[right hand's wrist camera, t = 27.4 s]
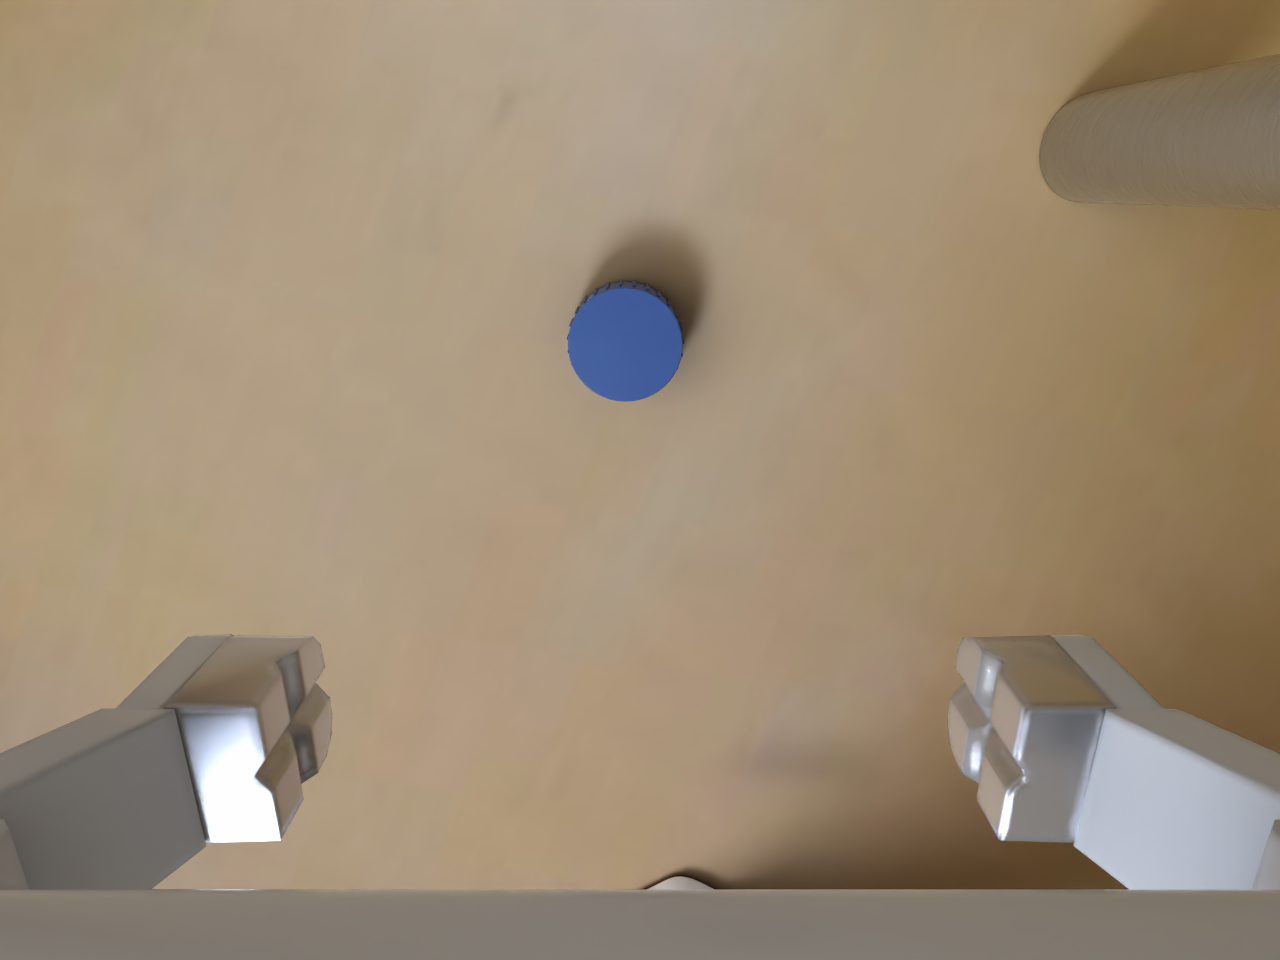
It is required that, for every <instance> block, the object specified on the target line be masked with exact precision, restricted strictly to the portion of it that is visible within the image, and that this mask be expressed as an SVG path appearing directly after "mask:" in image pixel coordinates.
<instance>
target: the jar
mask: <svg viewBox="0 0 1280 960" xmlns="http://www.w3.org/2000/svg"><path fill="white" fill-rule="evenodd" d="M1040 167H1041V171H1042V174H1043V177H1044V179H1045V181H1046V183H1047V184H1048V186H1049V187H1050V188H1051V189H1052V190H1053V191H1054V192H1055V193H1056V194H1057V195H1059V196H1061V197H1062V198H1064V199H1067V200H1070V201H1074V202H1088V203H1114V204H1139V205H1164V206H1189V207H1215V208H1240V209H1265V210H1280V54H1277V55H1272V56H1267V57H1262V58H1257V59H1252V60H1247V61H1242V62H1237V63H1233V64H1228V65H1223V66H1218V67H1213V68H1208V69H1203V70H1198V71H1194V72H1189V73H1184V74H1179V75H1174V76H1169V77H1164V78H1159V79H1154V80H1150V81H1145V82H1140V83H1135V84H1130V85H1125V86H1120V87H1115V88H1111V89H1106V90H1101V91H1096V92H1091V93H1087V94H1084V95H1081V96H1079V97H1077V98H1075V99H1073V100H1072V101H1070V102H1069V103H1067V104H1066V105H1065V106H1064V107H1063V108H1061V110H1060V111H1059V112H1058V113H1057V114H1056V115H1055V116H1054V118H1053V119H1052V120H1051V122H1050V123H1049V125H1048V127H1047V129H1046V131H1045V133H1044V136H1043V139H1042V142H1041V147H1040Z"/></svg>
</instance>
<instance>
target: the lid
mask: <svg viewBox="0 0 1280 960" xmlns="http://www.w3.org/2000/svg"><path fill="white" fill-rule="evenodd" d="M575 314H576V316H575V318H573V319H572V321H571V323H570V325H569V326H570V327H571V328H570V332H569V335H568V337H567V340H568V353H569V356H570V360H571V364H572V366H573V368H574V370H575V372H576V374H577V375H578V377H579V378H580V380H581V381H582V382H583V383H584V384H585V385H586V386H587V387H588V388H589V389H591V390H592V391H593V392H595V393H596V394H598V395H600V396H602V397H605V398H608V399H611V400H616V401H635V400H640V399H643V398H646V397H649V396H651V395H653V394H655V393H656V392H658V391H659V390H660V389H662V388H663V387H664V386H665V385H666V384H667V383H668V382H669V381H670V380H671V378H672V377H673V375H674V374H675V372H676V370H677V369H678V365H679V363H680V359H681V357H682V355H683V354H682V344H684V340H683V336H682V334H681V330H682V326H681V323H680V322H678V319H677V318H678V315H677V312H676V310H673V308H672V307H671V305H670V301H669V299H667V300H666V299H665V298H664V297H663V296H662V295H661V294H660V291H659V290H657V291H656V290H654V289H652V288H651V287H649V286H648V284H646V285H644V284H641V283H636V281H635V280H633V282H628V281H625V282H623V281H622V280H620V282H616V283H611V284H610V283H609V282H608V283H607V285H605V286H603V287H601V288H599V289H598V288H596V289H595V290H594V292H593V293H592V294H591V295H590V296H589V297H588V296H586V297H585V299H584V301H583V303H582V305H581V306H580V307H579V306H578V308H577V310H576V312H575Z"/></svg>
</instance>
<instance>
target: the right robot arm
mask: <svg viewBox="0 0 1280 960" xmlns="http://www.w3.org/2000/svg"><path fill="white" fill-rule="evenodd" d="M324 668H325V664H324V659H323V654H322V649H321V644H320V643H319V642H318V641H317V640H316V639H315V638H314V637H308V636H256V635H236V636H234V635H231V634H229V635H196V636H191V637H187V638H186V639H185V640H184V641H183V642H182V643H181V644H180V645H179V646H178V647H177V648H176V649H175V650H174V651H173V652H172V653H171V654H170V655H169V656H168V657H167V658H166V659H165V660H164V661H163V662H162V663H161V664H160V665H159V666H158V667H157V668H156V669H155V670H154V671H153V672H152V673H151V674H150V675H149V676H148V677H147V678H146V679H145V680H144V681H143V682H142V683H141V684H140V685H139V686H138V687H137V688H136V689H135V690H134V691H133V692H132V693H131V694H130V695H129V696H128V697H127V698H126V699H125V700H124V701H123V702H122V703H121V704H120V705H119V706H118V707H117V708H116V709H100V710H98V711H96V712H94V713H91V714H89V715H87V716H84V717H82V718H80V719H78V720H75V721H73V722H71V723H69V724H66V725H64V726H62V727H59V728H57V729H55V730H53V731H50V732H48V733H46V734H43V735H41V736H39V737H37V738H34V739H32V740H30V741H28V742H25V743H23V744H21V745H18V746H16V747H14V748H12V749H9V750H7V751H5V752H3V753H0V960H1280V754H1279V753H1277V752H1275V751H1273V750H1270V749H1268V748H1266V747H1264V746H1261V745H1259V744H1257V743H1255V742H1252V741H1250V740H1248V739H1245V738H1243V737H1241V736H1239V735H1236V734H1234V733H1232V732H1230V731H1227V730H1225V729H1223V728H1220V727H1218V726H1216V725H1214V724H1211V723H1209V722H1207V721H1205V720H1202V719H1200V718H1198V717H1195V716H1193V715H1191V714H1189V713H1186V712H1184V711H1182V710H1180V709H1165V708H1164V707H1163V706H1161V705H1160V704H1159V703H1158V702H1157V701H1156V700H1155V699H1154V698H1153V697H1152V696H1151V695H1150V694H1149V693H1148V692H1147V691H1146V690H1145V689H1144V688H1143V687H1142V686H1141V685H1140V684H1139V683H1138V682H1137V681H1136V680H1135V679H1134V678H1133V677H1132V676H1131V675H1130V674H1129V673H1128V672H1127V671H1126V670H1125V669H1124V668H1123V667H1122V666H1121V665H1120V664H1119V663H1118V662H1117V661H1116V660H1115V659H1114V658H1113V657H1112V656H1111V655H1110V654H1109V653H1108V652H1107V651H1106V650H1105V649H1104V648H1103V647H1102V646H1101V645H1100V644H1099V643H1098V642H1097V641H1096V640H1095V639H1094V638H1092V637H1089V636H1086V635H1084V634H1075V635H1049V636H1009V637H971V638H963V640H962V642H961V644H960V646H959V648H958V652H957V658H956V664H955V668H956V670H957V671H958V673H959V674H960V676H961V678H962V679H963V681H964V684H963V685H962V686H961V687H960V688H959V689H958V690H957V691H956V692H955V693H954V694H953V695H952V696H951V697H950V703H949V712H948V720H947V721H948V731H949V742H950V745H951V749H952V752H953V755H954V758H955V760H956V762H957V764H958V766H959V768H960V770H961V772H962V773H963V774H965V775H966V776H968V777H969V778H971V779H972V780H974V781H975V782H977V783H978V784H979V786H978V792H977V798H976V799H977V801H978V803H979V805H980V806H981V808H982V810H983V812H984V814H985V815H986V817H987V819H988V821H989V823H990V824H991V826H992V828H993V830H994V831H995V833H996V835H997V837H998V839H999V840H1000V841H1034V842H1070V843H1074V847H1076V848H1077V849H1078V850H1079V851H1081V852H1082V853H1083V854H1085V855H1086V856H1087V857H1088V858H1090V859H1091V860H1092V861H1094V862H1095V863H1096V864H1097V865H1099V866H1100V867H1101V868H1102V869H1104V870H1105V871H1106V872H1108V873H1109V874H1110V875H1111V876H1113V877H1114V878H1115V879H1117V880H1118V881H1119V882H1120V883H1122V884H1123V885H1124V886H1126V887H1127V888H1128V889H971V890H970V889H969V890H715V889H713V888H711V887H709V886H707V885H705V884H703V883H701V882H699V881H697V880H694V879H691V878H688V877H680V876H679V877H672V878H669V879H667V880H665V881H663V882H661V883H659V884H657V885H655V886H653V887H651V888H649V889H647V890H374V889H152V888H153V887H155V886H156V885H157V884H159V883H160V882H161V881H162V880H164V879H165V878H166V877H168V876H169V875H170V874H171V873H173V872H174V871H175V870H177V869H178V868H179V867H180V866H182V865H183V864H184V863H185V862H187V861H188V860H189V859H191V858H192V857H193V856H194V855H196V854H197V853H198V852H200V851H201V850H202V849H203V848H205V847H206V843H210V842H245V841H280V840H281V839H282V837H283V835H284V833H285V832H286V830H287V828H288V826H289V824H290V823H291V821H292V819H293V817H294V815H295V814H296V812H297V810H298V808H299V806H300V805H301V803H302V801H303V799H304V798H303V792H302V786H301V784H302V783H303V782H305V781H306V780H308V779H309V778H311V777H312V776H314V775H315V774H317V773H318V772H319V770H320V768H321V766H322V764H323V762H324V760H325V758H326V756H327V752H328V748H329V743H330V739H331V735H332V709H331V702H330V697H329V696H328V695H327V694H326V693H325V692H324V691H323V690H322V689H321V688H320V687H319V686H318V685H317V684H316V681H317V679H318V678H319V676H320V674H321V673H322V671H323V670H324Z"/></svg>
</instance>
